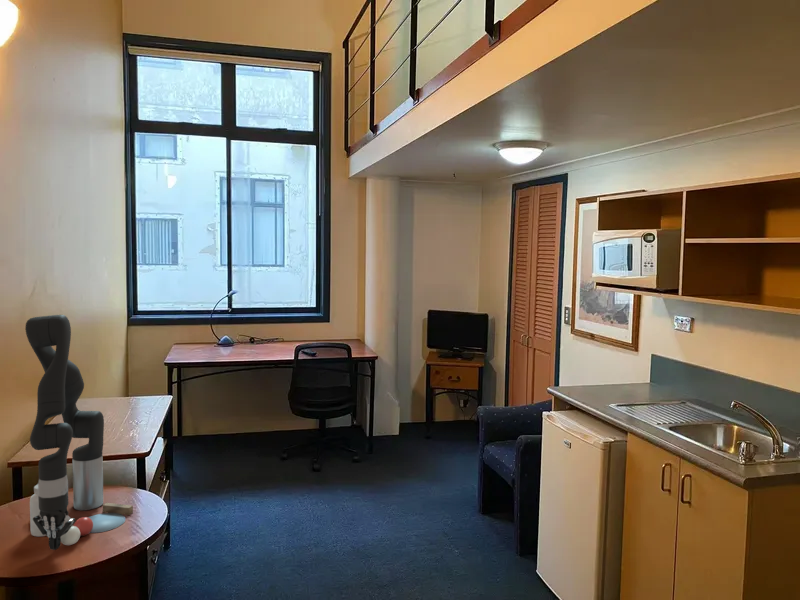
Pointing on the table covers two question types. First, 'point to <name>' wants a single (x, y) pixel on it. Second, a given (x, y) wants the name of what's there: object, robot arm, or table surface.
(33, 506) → the pill bottle
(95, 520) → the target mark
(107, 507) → the strip
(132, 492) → the table surface
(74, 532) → the cue ball
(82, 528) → the red ball
